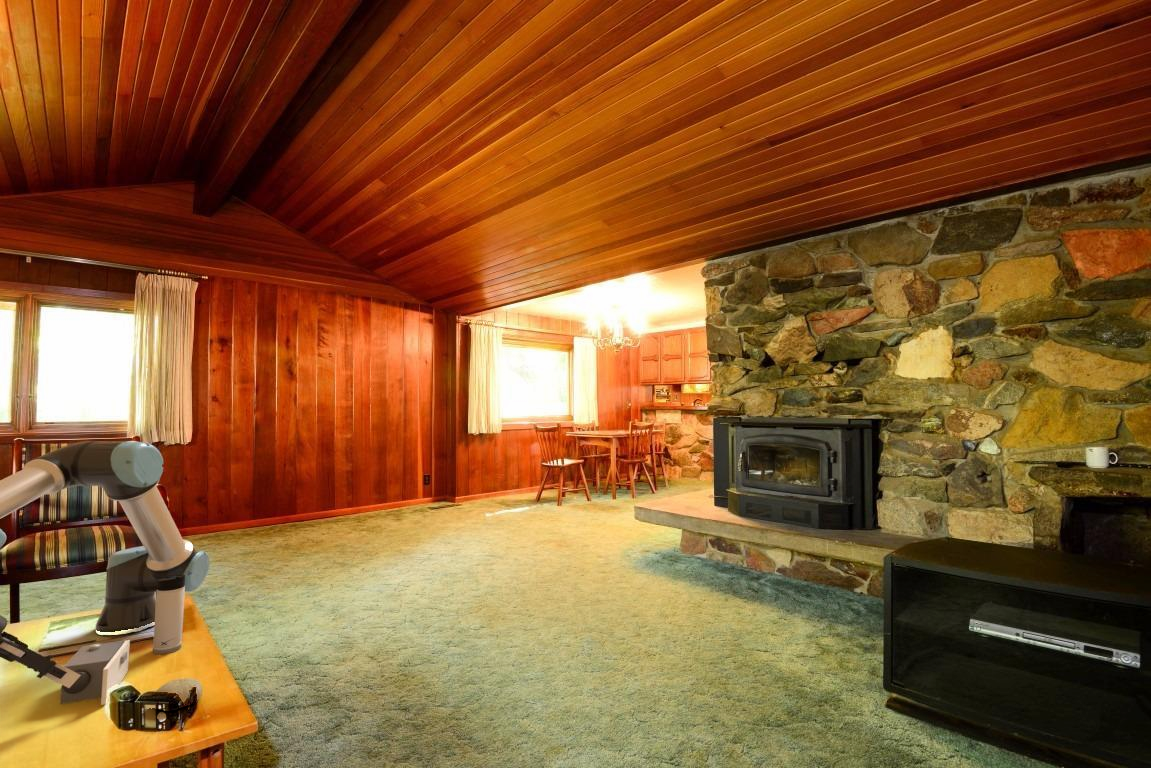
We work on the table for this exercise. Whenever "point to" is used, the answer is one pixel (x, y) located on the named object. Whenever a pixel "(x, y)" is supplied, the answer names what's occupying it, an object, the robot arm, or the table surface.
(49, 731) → the table surface
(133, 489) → the robot arm
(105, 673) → the side door
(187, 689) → the sea urchin shell
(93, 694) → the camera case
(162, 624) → the travel mug
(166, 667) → the table surface
